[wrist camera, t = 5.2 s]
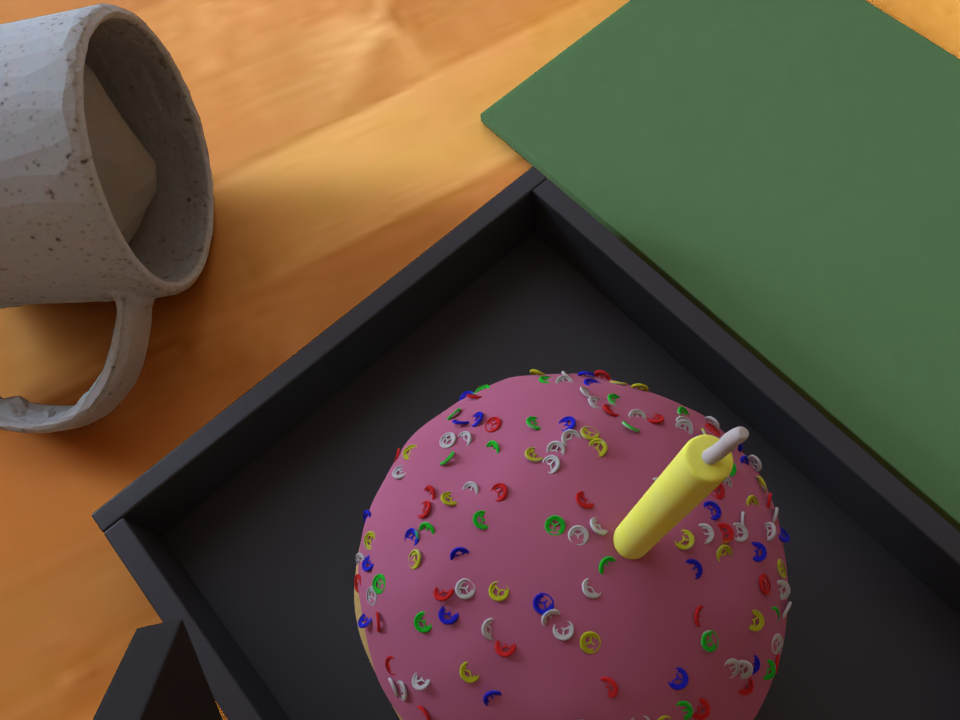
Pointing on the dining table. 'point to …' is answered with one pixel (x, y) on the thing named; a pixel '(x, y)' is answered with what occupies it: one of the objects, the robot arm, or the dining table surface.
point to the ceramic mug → (97, 187)
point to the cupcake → (572, 560)
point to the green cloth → (781, 196)
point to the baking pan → (465, 367)
